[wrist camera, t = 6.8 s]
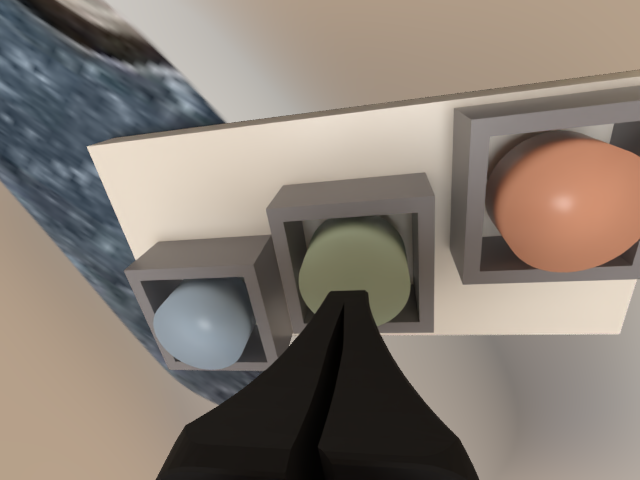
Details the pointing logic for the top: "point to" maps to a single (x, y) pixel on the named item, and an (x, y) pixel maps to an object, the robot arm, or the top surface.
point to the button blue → (206, 322)
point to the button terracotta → (566, 201)
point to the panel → (368, 209)
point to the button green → (357, 264)
